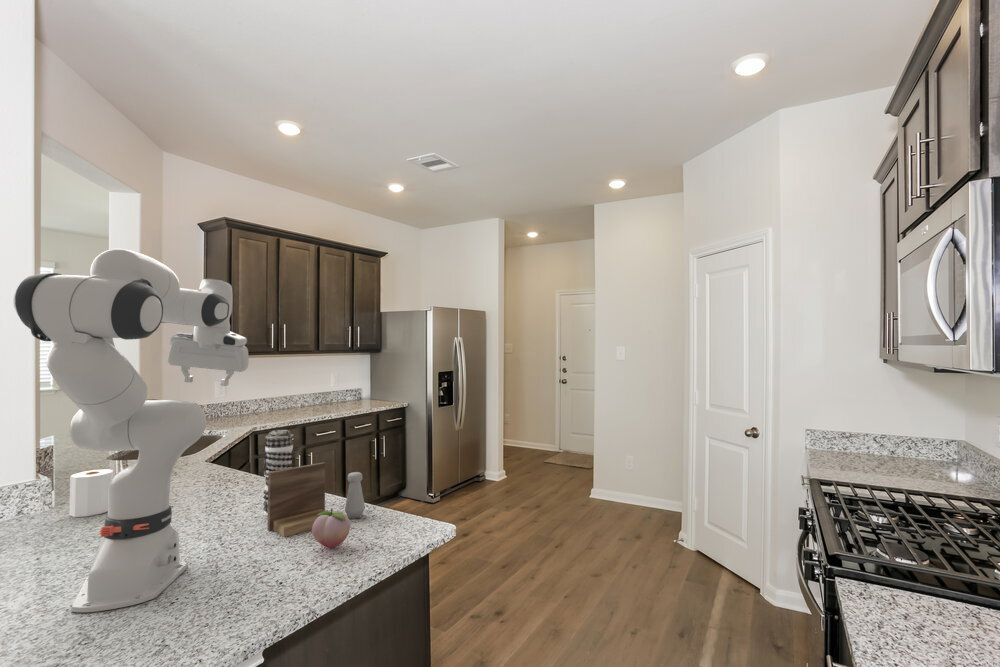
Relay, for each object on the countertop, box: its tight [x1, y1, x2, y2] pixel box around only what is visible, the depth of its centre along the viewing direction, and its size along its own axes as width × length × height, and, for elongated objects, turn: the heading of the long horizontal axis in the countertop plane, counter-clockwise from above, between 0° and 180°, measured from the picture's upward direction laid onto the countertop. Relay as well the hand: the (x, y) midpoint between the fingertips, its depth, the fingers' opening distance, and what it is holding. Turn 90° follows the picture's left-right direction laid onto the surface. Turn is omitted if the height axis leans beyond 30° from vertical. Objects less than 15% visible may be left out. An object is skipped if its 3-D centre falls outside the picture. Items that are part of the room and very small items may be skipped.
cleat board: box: [267, 461, 326, 538], centre depth 137 cm, size 9×16×16 cm, turn 136°
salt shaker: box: [344, 471, 366, 520], centre depth 145 cm, size 6×6×13 cm
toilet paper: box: [68, 468, 115, 518], centre depth 150 cm, size 10×10×12 cm
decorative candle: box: [262, 429, 296, 517], centre depth 149 cm, size 9×9×25 cm
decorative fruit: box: [311, 508, 351, 549], centre depth 121 cm, size 9×8×10 cm
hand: (206, 383), depth 137 cm, fingers open, 8 cm apart
